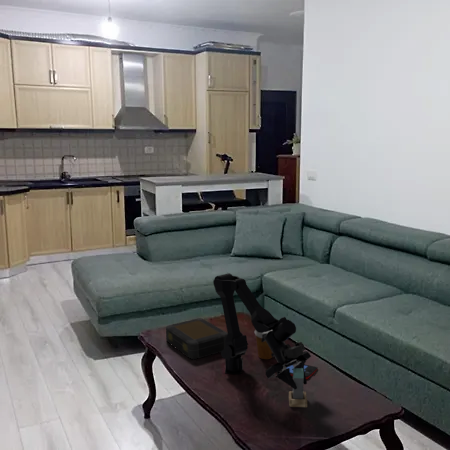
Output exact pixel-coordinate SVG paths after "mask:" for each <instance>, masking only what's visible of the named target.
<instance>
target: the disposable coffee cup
mask: <svg viewBox="0 0 450 450" xmlns="http://www.w3.org/2000/svg"><path fill="white" fill-rule="evenodd" d="M270 331H273V330H270ZM268 332H269V331H267V332H263V333H258V332H257V331H256V329H255V330H254V335H255V339H256V340H255V341H256V342H255V343H256V348H257V349H256V350H257V356H258V358H259V359H261V360H270V359H273V357H272V356H271V354H272V351H271V349H270V347H269V346H268V344H267V342H266V341H264V342H261V339H262V335H263V334H265V333H268Z"/></svg>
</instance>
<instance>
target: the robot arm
mask: <svg viewBox="0 0 450 450" xmlns="http://www.w3.org/2000/svg"><path fill="white" fill-rule="evenodd" d="M212 283H213V286H214V287H213V288H214V289H215V293H216V294H217V295H218V296H219V298H220V300H221V305H222V309H223V314H224V320H225V321H224V322H225V326H226V330H227V331H226V332H227V333H228V334H227V337H226V340H225V344H226V348H224V349H223V350H222V351H221V352H220V355H221V358H222V359H225V360H224V361H225V362H224V363H225V368H224V369H225V370H224V374H227V375H228V374H232V375H233V374H235V375H241V374H242V371H243V370H244V359H243V358H244V357H243V358H242V356H245V355H246V352H247V350H248V349H249V347H248V345H249V343H248V340H247V339H248V338H247V335H246V334H243V333H242V331H241V329H240V324H239V318H238V313H237V307H236V303H235V299H234V294H235V293H236V294H237V296H238V298H239V299H240V300H241V302H242V304H243V306H244V307H245V308H246V310H247V311H248V313H249V314H250V320H251V324H252V325H253V327H254V329H255V330H256V331H257V332H258V333H263V332H267V331H269V332H268V333H265V334H263V335H262V339H261V342H264V341H266V342H267V344H268V346H269V347H270V349H271V351H272V354H271V356H272V358H273V357H274V358H275V360H276V362H277V363H274V364H272V365H270V366H269V367H268V368H267V369H266V370H265V376H266V378H267V379H268V380H269V379H272V378H273V377H275V379H279V380H281V381H282V382H284V383H285V384H286V385H288V386H290V387H291V388H292V390H293V389H297V386H296V384H295V382H294V380H293V376H291V375H290V368H287V367H290V366H292V365H293V367H294V368H303V372H304V383H303V386H305V385H307V384H308V381H307V379H306V376H305V371H304V364H305V365H306V363H307V360H309V359H310V358H312V356H311V354H310V352H309V351H308V350H306V346H305V345H304V343H303V342H302V341H298V342H296V343H295V344H294V346H291V345H290V344H289V343H287V344H286V341H287V340H288V339H289V338H291V337H292V336H293V335H294V334H295V333H296V332H297V325H295V323H294V322H293V321H291V320H290V319H287V317H285V316H284V317H281V318H280V319H278V318H276V317H274V315H272V313H271V312H270V311H269V310H267V309H265V308H264V307H263V306H262V305H261V304H260V303H259V301H258V299H257V298H256V297H255V295H254V293H253V292H252V291H251V289H250V288H249V286H248V285H247V281H246V280H245V278H241V277H239V276H237V275H233V274H231V273H229V272H228V273H224V274H220V275H217V276H215V277H214V279H213V281H212ZM270 330H273V331H270ZM292 370H293V369H292ZM275 374H276V376H275Z"/></svg>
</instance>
